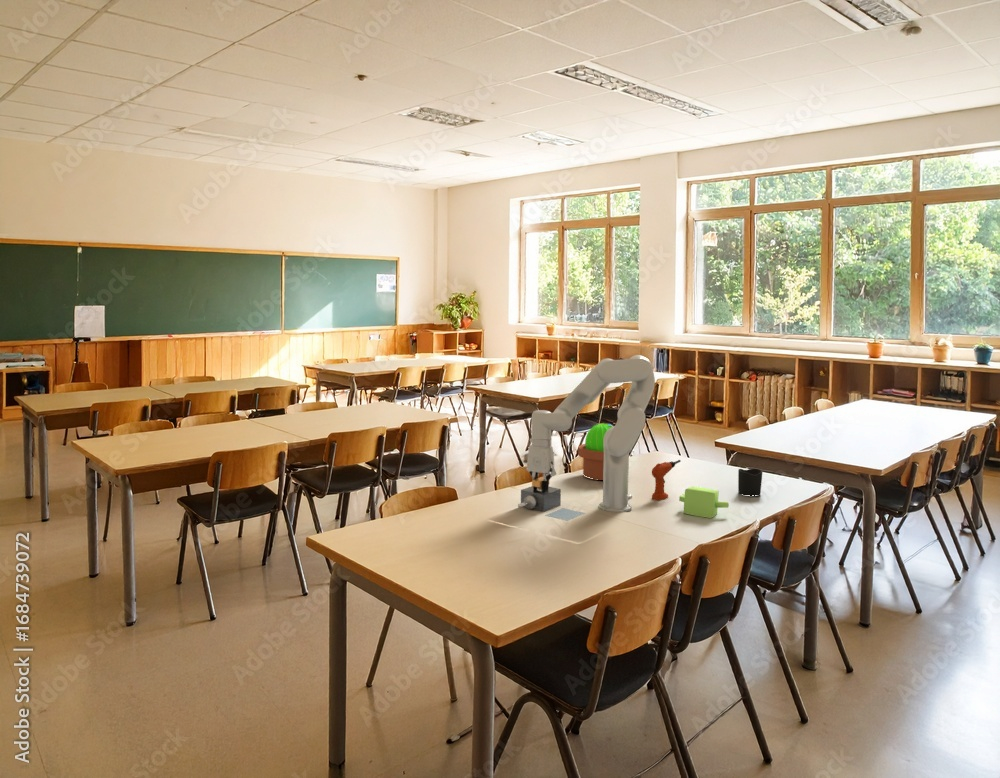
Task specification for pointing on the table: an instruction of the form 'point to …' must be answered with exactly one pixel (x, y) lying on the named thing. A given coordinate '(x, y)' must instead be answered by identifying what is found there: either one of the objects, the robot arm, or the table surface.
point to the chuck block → (540, 498)
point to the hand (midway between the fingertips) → (540, 488)
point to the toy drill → (661, 478)
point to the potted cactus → (594, 451)
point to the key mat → (565, 514)
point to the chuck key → (538, 483)
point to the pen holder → (749, 481)
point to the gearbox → (702, 502)
